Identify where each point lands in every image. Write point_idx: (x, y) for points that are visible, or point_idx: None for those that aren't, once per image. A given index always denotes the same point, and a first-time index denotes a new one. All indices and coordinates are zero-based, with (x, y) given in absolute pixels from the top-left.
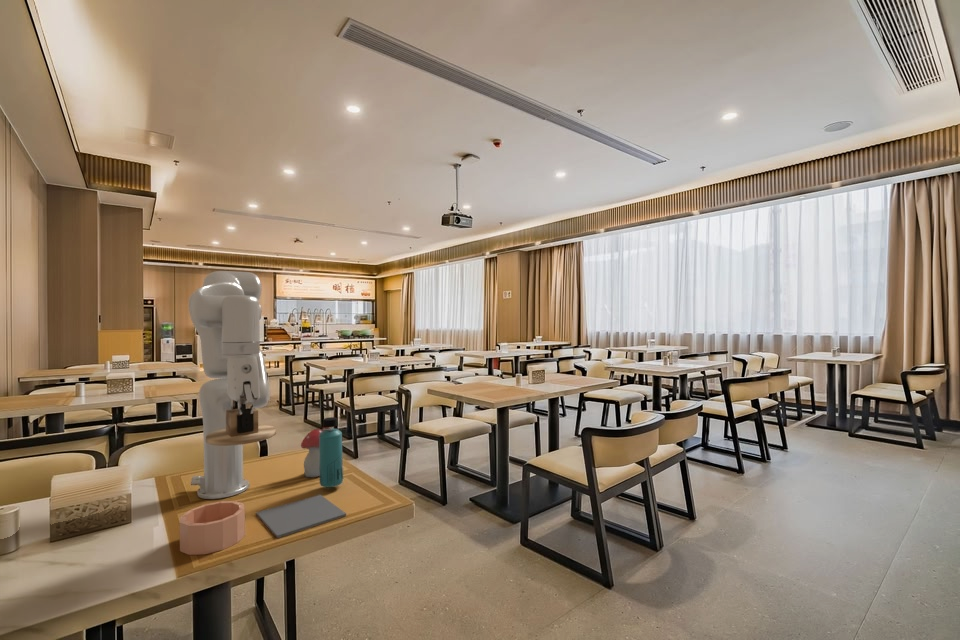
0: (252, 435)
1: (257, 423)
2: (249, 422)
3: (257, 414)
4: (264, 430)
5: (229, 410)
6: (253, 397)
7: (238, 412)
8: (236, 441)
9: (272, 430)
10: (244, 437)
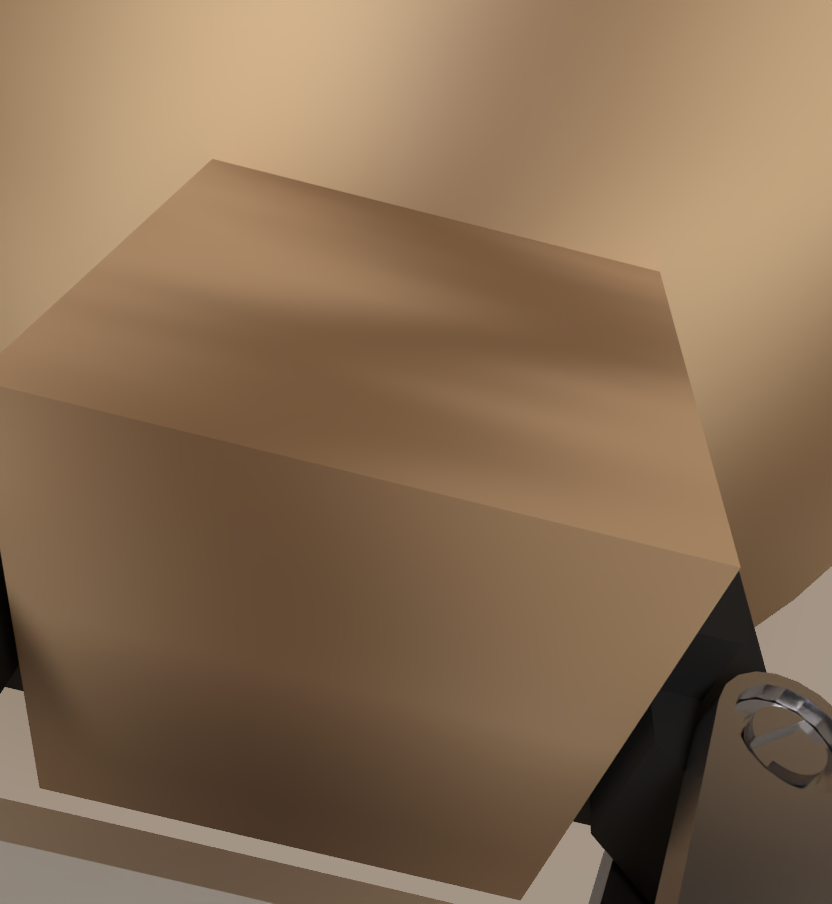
0: (747, 417)
1: (674, 371)
2: (734, 587)
3: (708, 500)
4: (620, 118)
5: (131, 783)
6: (190, 849)
7: (604, 871)
8: (763, 610)
9: (799, 6)
10: (736, 521)
